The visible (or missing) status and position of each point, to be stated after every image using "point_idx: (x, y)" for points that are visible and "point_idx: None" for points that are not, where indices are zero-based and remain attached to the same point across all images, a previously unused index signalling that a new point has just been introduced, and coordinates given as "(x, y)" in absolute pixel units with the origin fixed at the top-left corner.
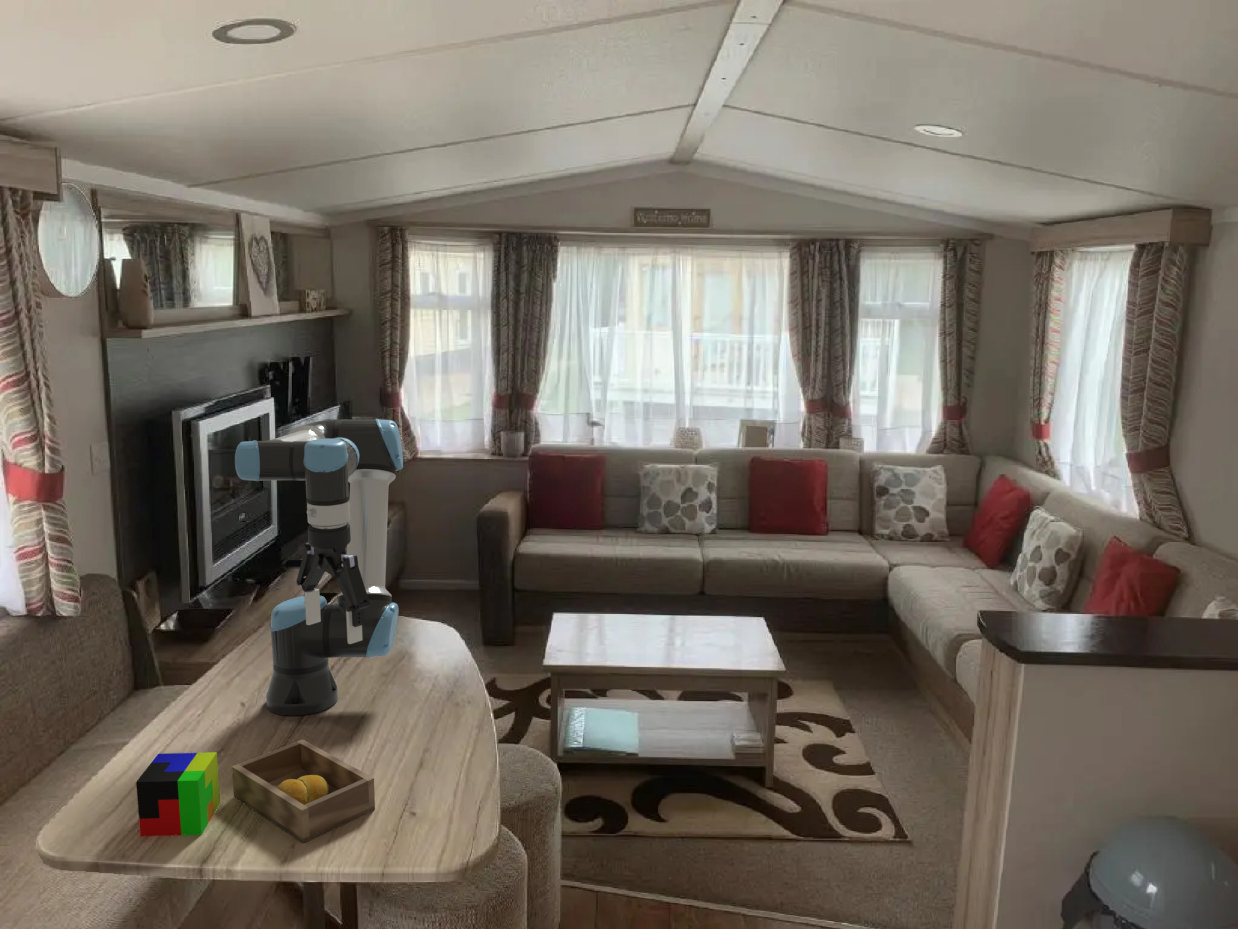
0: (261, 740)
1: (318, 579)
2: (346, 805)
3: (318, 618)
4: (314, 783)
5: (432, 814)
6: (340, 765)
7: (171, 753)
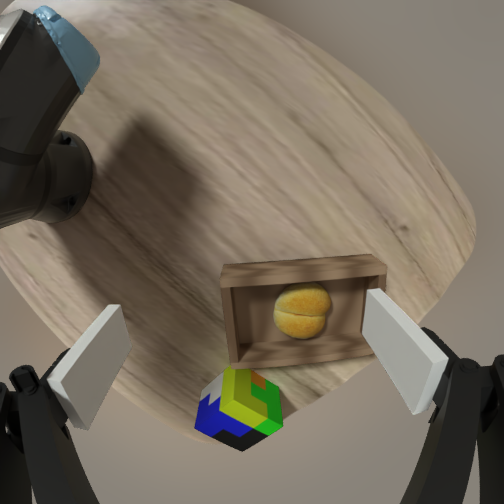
0: (119, 265)
1: (61, 449)
2: None
3: (117, 319)
4: (321, 309)
5: (418, 215)
6: (330, 279)
7: (202, 423)
